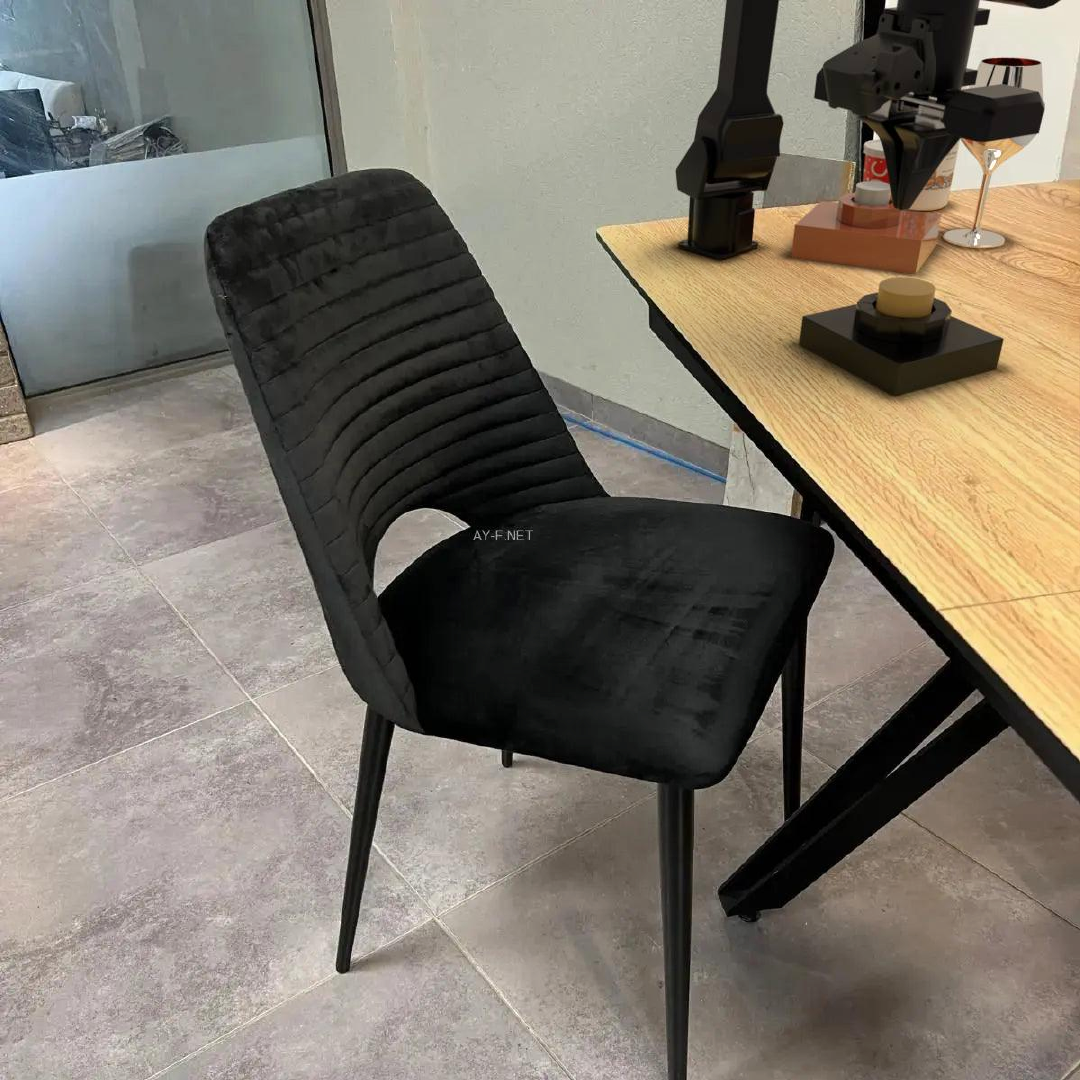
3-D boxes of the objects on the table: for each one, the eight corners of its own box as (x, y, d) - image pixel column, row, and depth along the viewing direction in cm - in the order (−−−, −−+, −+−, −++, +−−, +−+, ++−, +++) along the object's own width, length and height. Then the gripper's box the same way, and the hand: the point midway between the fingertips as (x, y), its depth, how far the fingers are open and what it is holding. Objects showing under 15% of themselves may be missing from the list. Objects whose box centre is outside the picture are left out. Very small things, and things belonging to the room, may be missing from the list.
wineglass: (925, 229, 117) (957, 56, 107) (998, 228, 117) (1037, 54, 107) (947, 251, 110) (983, 69, 100) (1024, 250, 110) (1068, 67, 100)
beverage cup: (841, 225, 119) (859, 96, 111) (874, 215, 122) (894, 88, 114) (884, 238, 114) (906, 104, 107) (918, 227, 118) (942, 96, 110)
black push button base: (798, 345, 90) (804, 295, 87) (895, 322, 94) (903, 274, 91) (894, 397, 81) (903, 343, 78) (997, 369, 85) (1009, 317, 82)
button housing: (791, 257, 110) (796, 205, 107) (817, 231, 117) (823, 182, 114) (915, 274, 104) (925, 220, 101) (935, 246, 112) (945, 195, 109)
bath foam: (921, 215, 121) (954, 28, 110) (875, 202, 126) (903, 22, 115) (959, 205, 124) (995, 22, 113) (913, 193, 129) (943, 16, 118)
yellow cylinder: (864, 307, 86) (868, 282, 85) (904, 298, 88) (908, 273, 86) (901, 324, 83) (905, 299, 81) (942, 314, 84) (947, 289, 83)
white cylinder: (849, 206, 107) (852, 187, 106) (858, 198, 110) (861, 179, 109) (884, 210, 106) (887, 191, 105) (892, 202, 108) (895, 183, 107)
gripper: (771, -11, 79) (751, 195, 88) (951, 16, 65) (907, 258, 74) (883, -21, 83) (854, 177, 92) (1075, 3, 69) (1019, 234, 78)
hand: (901, 208), depth 84 cm, fingers closed
